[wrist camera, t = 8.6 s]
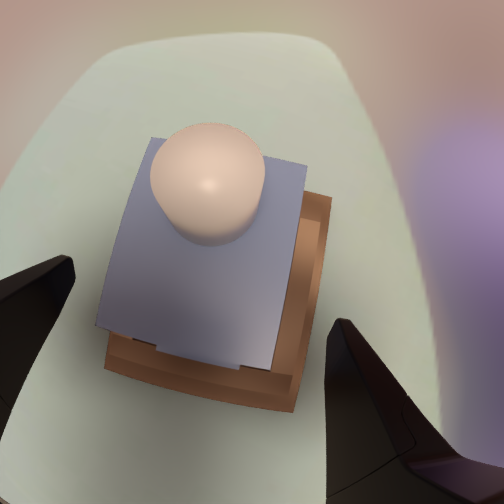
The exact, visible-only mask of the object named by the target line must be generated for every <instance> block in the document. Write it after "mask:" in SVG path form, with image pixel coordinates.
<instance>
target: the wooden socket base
mask: <svg viewBox="0 0 504 504" xmlns="http://www.w3.org/2000/svg"><path fill="white" fill-rule="evenodd" d="M331 201H332V197H328V196H324V195H320V194H316V193H312V192H308V191H304V192H303V198H302V204H301V211H300V217H299V223H298V229H297V234H296V240H295V246H294V252H293V257H292V263H291V268H290V274H289V279H288V285H287V290H286V295H285V300H284V305H283V310H282V315H281V320H280V325H279V330H278V335H277V340H276V345H275V350H274V354H273V359H272V364H271V368H270V370H267V369H261V368H256V367H251V366H245V365H240V367H239V370H236V369H231V368H227V367H222V366H217V365H213V364H208V363H204V362H200V361H195V360H191V359H187V358H183V357H179V356H175V355H172V354H168V353H164V352H160V351H157V350H156V346H157V345H156V344H152V343H149V342H145V341H142V340H139V339H135V338H132V337H129V336H125V335H122V334H119V333H116V332H113V331H110V336H109V341H108V347H107V353H106V359H105V366H104V369H107V370H110V371H113V372H115V373H118V374H121V375H124V376H127V377H130V378H134V379H137V380H140V381H143V382H147V383H150V384H153V385H157V386H160V387H164V388H167V389H171V390H175V391H179V392H183V393H187V394H191V395H195V396H199V397H203V398H208V399H212V400H217V401H222V402H227V403H232V404H237V405H243V406H249V407H255V408H261V409H267V410H274V411H282V412H289V413H293V411H294V407H295V403H296V399H297V394H298V390H299V386H300V381H301V377H302V373H303V368H304V363H305V359H306V354H307V349H308V344H309V339H310V334H311V329H312V324H313V319H314V313H315V308H316V302H317V297H318V291H319V285H320V279H321V273H322V266H323V260H324V253H325V246H326V240H327V232H328V225H329V217H330V209H331Z"/></svg>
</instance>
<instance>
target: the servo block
mask: <svg viewBox="0 0 504 504" xmlns="http://www.w3.org/2000/svg"><path fill="white" fill-rule="evenodd" d="M306 172H307V166H306V165H302V164H298V163H294V162H289V161H285V160H281V159H276V158H271V157H267V156H262V154H261V152H260V150H259V148H258V146H257V145H256V143H255V142H254V141H253V140H252V139H251V138H250V137H249V136H248V135H246V134H245V133H244V132H242V131H240V130H239V129H236V128H234V127H232V126H229V125H225V124H220V123H202V124H196V125H192V126H189V127H187V128H184V129H182V130H180V131H178V132H177V133H175V134H174V135H172V136H171V137H170V138H168V139H162V138H154V137H151V140H150V142H149V145H148V147H147V150H146V152H145V155H144V157H143V160H142V163H141V165H140V168H139V170H138V173H137V176H136V179H135V181H134V184H133V187H132V190H131V193H130V196H129V199H128V202H127V205H126V208H125V211H124V214H123V217H122V220H121V224H120V227H119V230H118V234H117V237H116V240H115V244H114V247H113V251H112V255H111V258H110V262H109V266H108V270H107V274H106V278H105V282H104V286H103V291H102V295H101V300H100V304H99V309H98V314H97V319H96V324H95V326H98V327H101V328H104V329H107V330H110V331H113V332H116V333H119V334H122V335H125V336H129V337H132V338H135V339H139V340H142V341H145V342H149V343H152V344H156V345H157V346H156V350H157V351H160V352H164V353H168V354H172V355H175V356H179V357H183V358H187V359H191V360H195V361H200V362H204V363H208V364H213V365H217V366H222V367H227V368H231V369H236V370H239V367H240V365H245V366H251V367H256V368H261V369H267V370H270V368H271V364H272V359H273V354H274V350H275V345H276V340H277V335H278V330H279V325H280V320H281V315H282V310H283V305H284V300H285V295H286V290H287V285H288V279H289V274H290V268H291V263H292V257H293V252H294V246H295V240H296V234H297V229H298V223H299V217H300V211H301V204H302V198H303V192H304V185H305V179H306Z"/></svg>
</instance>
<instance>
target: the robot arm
mask: <svg viewBox="0 0 504 504" xmlns="http://www.w3.org/2000/svg"><path fill="white" fill-rule="evenodd" d="M75 279H76V276H75V270H74V264H73V260H72V258H71V257H69V256H66V255H59V256H57V257H54V258H52V259H49V260H47V261H44V262H42V263H39V264H37V265H35V266H32V267H30V268H28V269H25V270H23V271H20V272H18V273H16V274H14V275H11V276H9V277H7V278H4V279H2V280H0V440H1V437H2V435H3V432H4V429H5V427H6V424H7V422H8V419H9V417H10V414H11V412H12V409H13V407H14V404H15V402H16V400H17V397H18V395H19V393H20V391H21V388H22V386H23V384H24V382H25V380H26V378H27V375H28V373H29V371H30V369H31V367H32V365H33V363H34V361H35V359H36V357H37V355H38V353H39V351H40V350H41V348H42V346H43V344H44V342H45V340H46V338H47V336H48V335H49V333H50V331H51V329H52V327H53V326H54V324H55V322H56V320H57V318H58V317H59V315H60V313H61V310H62V308H63V306H64V304H65V302H66V300H67V297H68V295H69V293H70V291H71V289H72V287H73V285H74V283H75ZM324 390H325V415H326V498H327V499H326V504H504V468H502V467H497V466H492V465H489V464H485V463H481V462H477V461H473V460H470V459H467V458H465V457H463V456H461V455H460V454H458V453H457V452H456V451H455V450H454V449H453V448H452V447H451V446H450V445H449V444H448V442H447V441H446V440H445V439H444V438H443V437H442V436H441V434H440V433H439V432H438V431H437V430H436V429H435V428H434V427H433V425H432V424H431V423H430V422H429V421H428V420H427V418H426V417H425V416H424V415H423V414H422V412H421V411H420V410H419V409H418V407H417V406H416V405H415V403H414V402H413V401H412V399H411V398H410V397H409V396H408V395H407V393H406V392H405V390H404V389H403V388H402V386H401V385H400V384H399V382H398V381H397V380H396V378H395V377H394V376H393V374H392V373H391V372H390V371H389V369H388V368H387V367H386V365H385V364H384V363H383V361H382V360H381V359H380V358H379V356H378V355H377V354H376V352H375V351H374V350H373V349H372V347H371V346H370V345H369V343H368V342H367V341H366V340H365V338H364V337H363V336H362V335H361V333H360V332H359V331H358V329H357V328H356V327H355V326H354V324H353V323H352V322H351V321H350V320H348V319H343V318H338V319H336V321H335V323H334V325H333V327H332V329H331V331H330V333H329V335H328V337H327V344H326V362H325V378H324ZM0 504H9V503H8V502H6V501H5V500H4V499H2V498H1V497H0Z"/></svg>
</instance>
